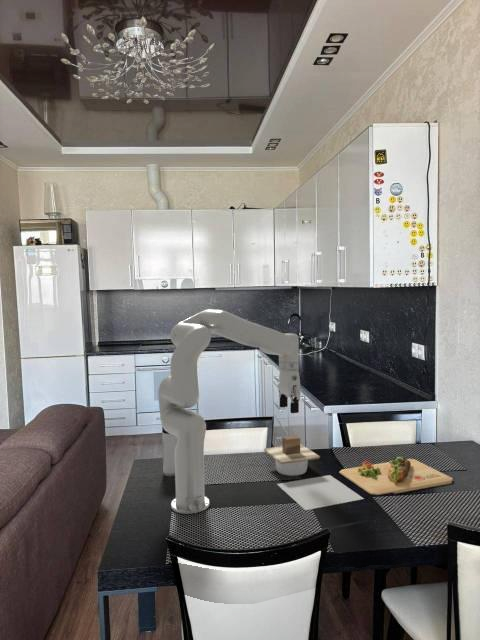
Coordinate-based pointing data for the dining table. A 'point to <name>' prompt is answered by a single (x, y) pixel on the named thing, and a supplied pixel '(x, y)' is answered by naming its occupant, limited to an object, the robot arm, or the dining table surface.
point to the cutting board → (395, 476)
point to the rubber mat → (319, 492)
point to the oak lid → (291, 451)
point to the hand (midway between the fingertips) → (288, 409)
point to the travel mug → (168, 453)
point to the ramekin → (292, 468)
